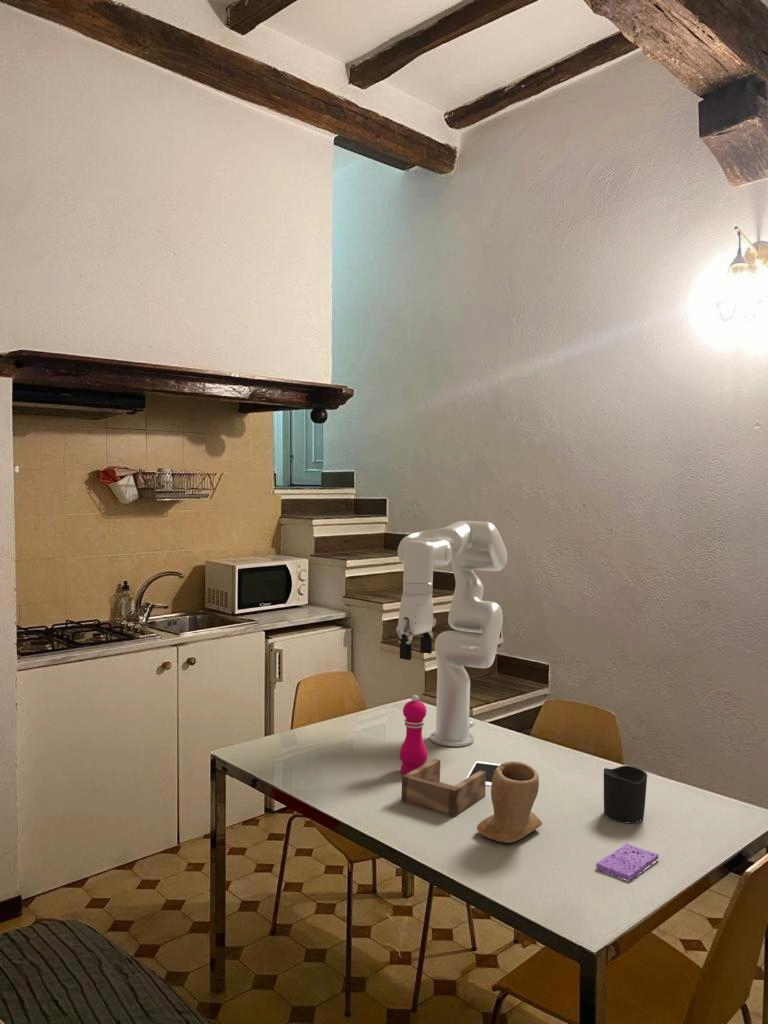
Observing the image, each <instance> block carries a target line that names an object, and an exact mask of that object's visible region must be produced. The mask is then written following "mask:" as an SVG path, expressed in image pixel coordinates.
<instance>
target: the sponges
mask: <svg viewBox="0 0 768 1024" xmlns="http://www.w3.org/2000/svg"><path fill="white" fill-rule="evenodd" d="M659 856H660V854H659V853H656V852H654V851H650V850H645V849H643V848H641V847H637V846H634V845H633V844H629V843H624V845H622V846H621V847H619V849H616V850H614V851H613V852H611V853H610V854H608V855H606V856H605V857H603V858H602V859H600V860H598V861H596V863H595V864H596V865H595V867H596V868H597V870H598V871H599V870H600V872H601V873H605V874H607V873H609V874H608V875H610V874H612V875H611V876H613V875H614V876H613V877H616V876H617V877H616V878H618V877H620V878H619V879H621V878H623V879H626V880H628V881H627V882H629V881H630V880H631V879H632V878H634V877H635V876H636V875H638V874H639V873H640V872H642V871H643V870H644V869H645V868H646V867H648V866H649V865H651V864H652V863H653V862H654V861H656V860H657V859H658V858H659ZM659 859H660V858H659ZM643 872H644V871H643ZM643 872H642V873H643ZM639 875H640V874H639ZM639 875H638V876H639ZM636 877H637V876H636ZM636 877H635V878H636ZM635 878H634V879H635ZM623 879H622V880H623ZM626 880H625V881H626ZM631 881H632V880H631ZM631 881H630V882H631Z"/></svg>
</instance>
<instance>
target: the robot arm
mask: <svg viewBox="0 0 768 1024" xmlns="http://www.w3.org/2000/svg"><path fill="white" fill-rule="evenodd" d="M399 542H400V543H398V547H397V557H398V559H399V561H400V562H401V563H402V564H403V576H402V577H403V579H402V580H403V581H402V583H403V584H402V595H401V600H400V605H399V610H398V612H399V613H398V621H397V622H398V623H397V627H396V628H395V631H396V634H397V639H398V643H399V659H401V660H407V661H412V655H413V654H412V653H413V652H412V651H413V649H412V648H413V644H412V643H411V642H412V640H413V637H414V636H418V635H419V636H420V635H421V636H420V653H423V654H429V655H430V654H432V653H433V638H434V632H435V631H436V630H435V629H436V628H435V626H436V624H437V619H436V618H435V617H434V605H433V586H434V585H433V584H434V583H433V582H434V568H438V569H439V568H444V567H446V566H448V565H449V564H450V562H451V566H452V570H453V571H452V572H453V575H454V580H455V587H454V591H453V592H454V593H453V596H452V599H451V603H450V608H449V611H448V617H447V621H448V625H449V626H450V628H452V629H453V630H447V631H446V630H445V631H443V632H440V633H438V635H437V637H436V639H435V641H434V653H435V659H436V660H435V661H436V671H437V673H436V677H437V679H436V681H437V682H436V705H435V706H436V712H435V713H436V714H435V715H436V717H435V731H432V732H431V733H430V737H429V739H430V740H431V742H432V743H434V744H437V745H440V746H444V747H466V746H469V745H472V743H474V740H475V739H474V738H475V737H474V735H473V734H471V733H470V731H469V730H470V729H471V728H473V727H474V725H475V722H474V721H473V720H470V700H471V698H470V697H471V680H470V675H469V674H468V671H467V670H466V669H465V667H468V668H476V669H477V668H478V669H488V668H490V667H491V666H492V665H493V663H494V661H495V659H496V654H497V650H498V645H499V642H500V641H499V640H500V635H501V632H502V626H503V622H504V621H503V619H504V618H503V617H504V616H503V610H502V607H501V606H500V605H499V604H498V603H497V602H495V601H491V600H483V595H484V590H485V589H484V585H483V583H482V581H481V579H480V578H479V577H478V576H477V575H476V573H475V572H474V570H475V571H485V572H486V571H487V572H490V571H491V572H499V571H502V570H503V569H504V568H505V567H506V565H507V563H508V552H507V548H506V545H505V543H504V541H503V538H502V536H501V534H500V531H499V530H498V528H497V527H496V526H495V524H493V523H492V522H490V521H477V520H476V521H475V520H458V521H455V522H453V523H451V524H450V525H447V526H445V527H442V528H434V529H429V530H423V531H417V532H413V533H411V534H408V535H406V536H404V537H403V538H402V539H401V540H400V541H399ZM454 630H455V631H454Z"/></svg>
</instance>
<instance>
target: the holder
mask: <svg viewBox="0 0 768 1024" xmlns="http://www.w3.org/2000/svg"><path fill="white" fill-rule="evenodd" d="M466 778H467V777H466ZM466 778H465V779H463V780H462V781H460V782H459V783H457V784H455V785H452V784H449V783H446V782H441V780H440V779H441V760H440V759H437V758H434V759H432V760H431V761H428V762H425V763H424V765H423V766H421V767H419V768H417V769H415V770H413V771H411V772H409V773H407V774H406V775H402V776H401V800H400V801H401V803H403V804H407V805H410V806H413V807H418V808H421V809H425V810H428V811H431V812H434V813H438V814H441V815H444V816H447V817H452V818H455V817H457V816H459V815H460V814H462V813H463V812H464V811H466V810H468V809H469V808H470V807H472V806H473V805H475V804H477V803H478V802H480V801H481V800H482V799H484V798H485V797H486V786H485V784H486V772H485V771H481V770H480V771H478V772H477V773H475V774H473V775H472V776H470V777H468V778H467V779H466Z"/></svg>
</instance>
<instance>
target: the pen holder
mask: <svg viewBox="0 0 768 1024" xmlns="http://www.w3.org/2000/svg"><path fill="white" fill-rule="evenodd" d="M647 783H648V773H647V772H646V771H644V770H643V769H641V768H638V767H635V766H630V765H621V766H619V767H614V768H607V767H605V768H603V813H604V814H605V816H606V815H607V816H608V817H609V818H608V817H607V816H606V817H607V818H608V819H610V818H611V819H610V820H612V819H613V821H614V820H617V821H616V822H618V821H621V822H620V823H622V822H637V821H640V820H641V821H643V820H644V817H645V808H646V797H647V795H646V794H647ZM641 821H640V822H641ZM637 823H638V822H637Z"/></svg>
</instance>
